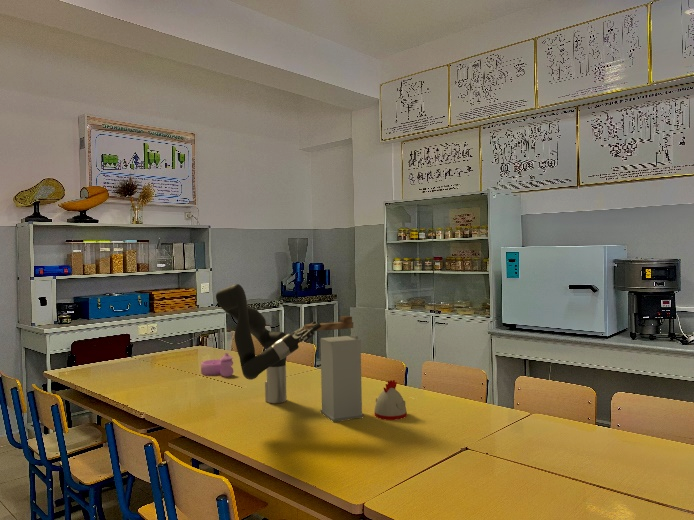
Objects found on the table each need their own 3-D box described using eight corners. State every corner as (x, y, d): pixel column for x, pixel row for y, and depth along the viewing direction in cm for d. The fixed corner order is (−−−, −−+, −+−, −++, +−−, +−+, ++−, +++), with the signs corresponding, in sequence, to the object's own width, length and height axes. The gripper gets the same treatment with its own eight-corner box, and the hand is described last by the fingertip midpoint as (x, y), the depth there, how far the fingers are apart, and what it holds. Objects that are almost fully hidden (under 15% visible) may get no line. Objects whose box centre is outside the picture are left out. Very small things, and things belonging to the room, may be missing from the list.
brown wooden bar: (307, 331, 226) (307, 320, 225) (304, 330, 229) (304, 318, 229) (353, 328, 234) (353, 316, 234) (349, 326, 238) (349, 315, 237)
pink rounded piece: (196, 372, 324) (196, 351, 323) (218, 368, 335) (218, 347, 334) (219, 379, 306) (218, 356, 306) (241, 374, 317) (241, 352, 317)
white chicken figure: (413, 414, 234) (412, 380, 233) (393, 422, 224) (392, 386, 223) (387, 408, 243) (387, 375, 243) (367, 415, 233) (367, 381, 233)
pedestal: (333, 422, 225) (331, 340, 224) (320, 412, 238) (319, 335, 238) (363, 417, 230) (362, 337, 230) (349, 408, 244) (348, 333, 243)
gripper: (284, 351, 231) (316, 328, 237) (294, 357, 218) (328, 333, 224) (275, 336, 230) (308, 314, 235) (285, 342, 216) (319, 318, 222)
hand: (317, 323), depth 229 cm, fingers closed on brown wooden bar, 4 cm apart
